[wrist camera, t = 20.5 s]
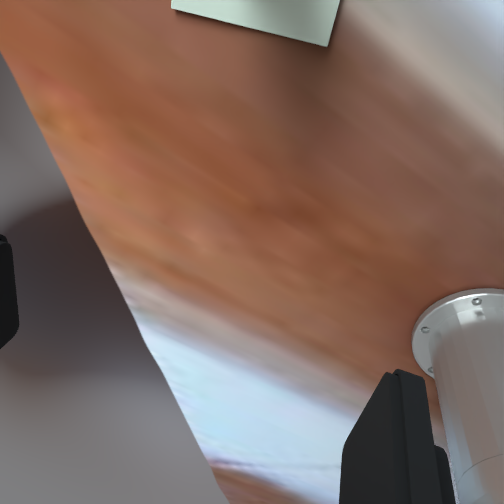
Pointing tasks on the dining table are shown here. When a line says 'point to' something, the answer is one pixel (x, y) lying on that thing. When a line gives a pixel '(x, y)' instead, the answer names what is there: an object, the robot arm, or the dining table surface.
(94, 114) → the dining table surface
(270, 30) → the mat
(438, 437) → the dining table surface
